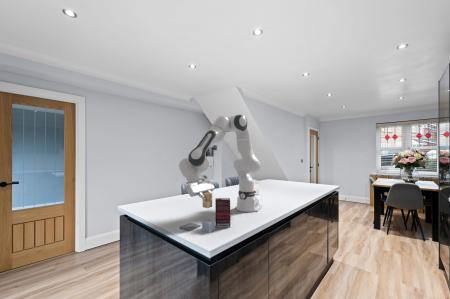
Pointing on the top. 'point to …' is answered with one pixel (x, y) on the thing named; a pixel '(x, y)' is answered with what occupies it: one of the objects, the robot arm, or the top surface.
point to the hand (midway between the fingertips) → (208, 198)
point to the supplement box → (222, 212)
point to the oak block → (207, 200)
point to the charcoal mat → (190, 226)
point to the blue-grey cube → (208, 226)
